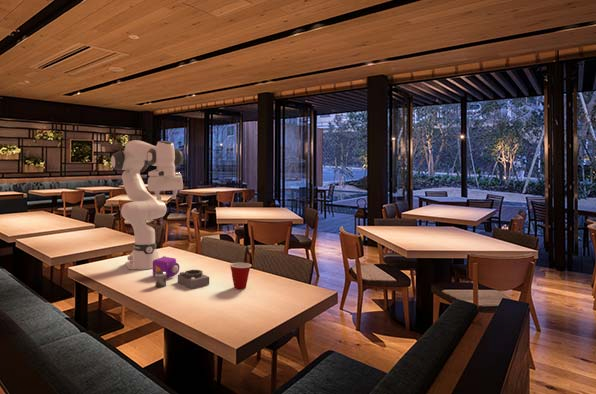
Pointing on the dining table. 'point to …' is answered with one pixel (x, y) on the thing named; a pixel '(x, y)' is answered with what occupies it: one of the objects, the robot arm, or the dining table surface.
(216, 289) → the dining table surface
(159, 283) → the lens
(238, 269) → the plastic cup
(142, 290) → the dining table surface
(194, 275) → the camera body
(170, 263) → the purple box with triangle
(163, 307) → the dining table surface
